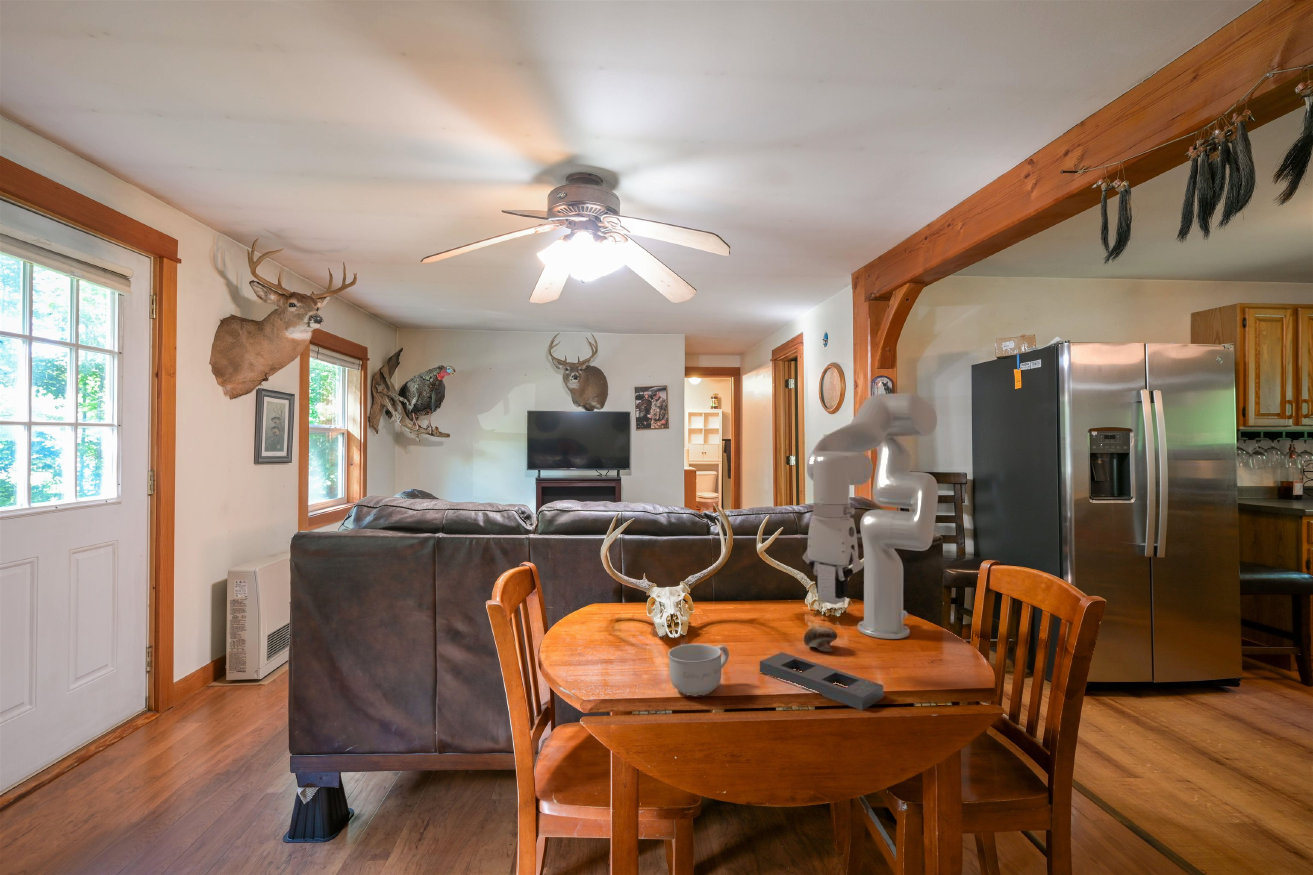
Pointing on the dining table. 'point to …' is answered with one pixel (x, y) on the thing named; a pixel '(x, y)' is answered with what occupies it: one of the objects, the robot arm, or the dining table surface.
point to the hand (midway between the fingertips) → (831, 594)
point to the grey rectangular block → (828, 584)
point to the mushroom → (820, 638)
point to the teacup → (696, 667)
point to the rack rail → (823, 680)
